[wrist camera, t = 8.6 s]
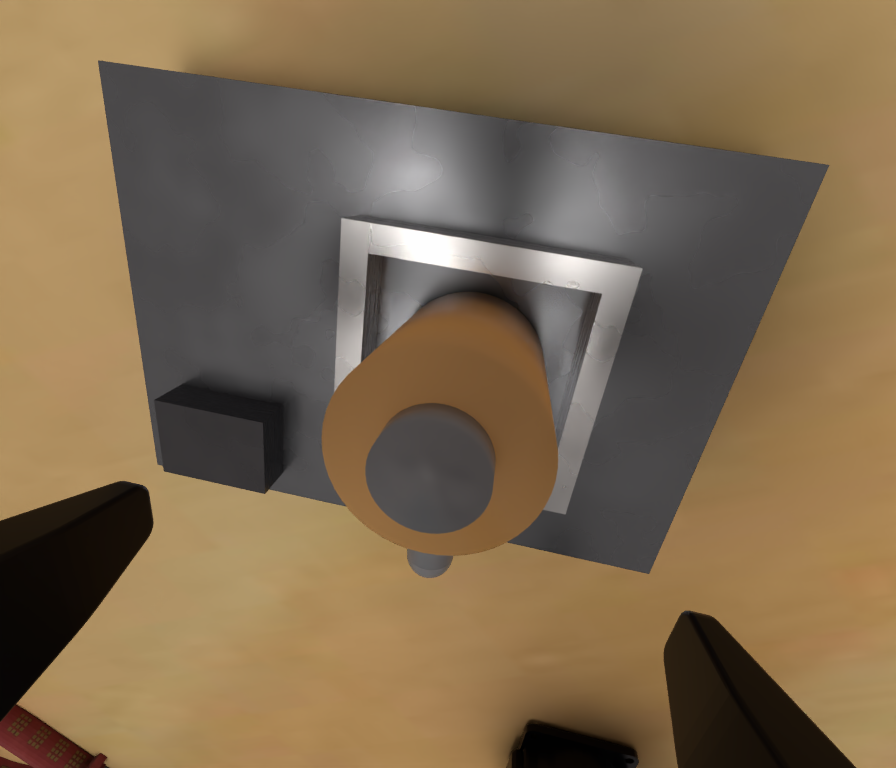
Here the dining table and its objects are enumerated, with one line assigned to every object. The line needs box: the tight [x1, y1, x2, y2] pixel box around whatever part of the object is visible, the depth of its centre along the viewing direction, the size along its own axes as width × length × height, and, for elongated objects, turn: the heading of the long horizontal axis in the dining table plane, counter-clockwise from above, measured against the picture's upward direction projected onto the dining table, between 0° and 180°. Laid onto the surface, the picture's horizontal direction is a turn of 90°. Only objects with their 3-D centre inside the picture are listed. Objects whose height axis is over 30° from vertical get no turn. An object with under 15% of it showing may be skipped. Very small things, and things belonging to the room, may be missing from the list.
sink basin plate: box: [98, 61, 829, 574], centre depth 16 cm, size 20×14×5 cm
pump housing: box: [322, 292, 558, 578], centre depth 12 cm, size 5×7×7 cm
